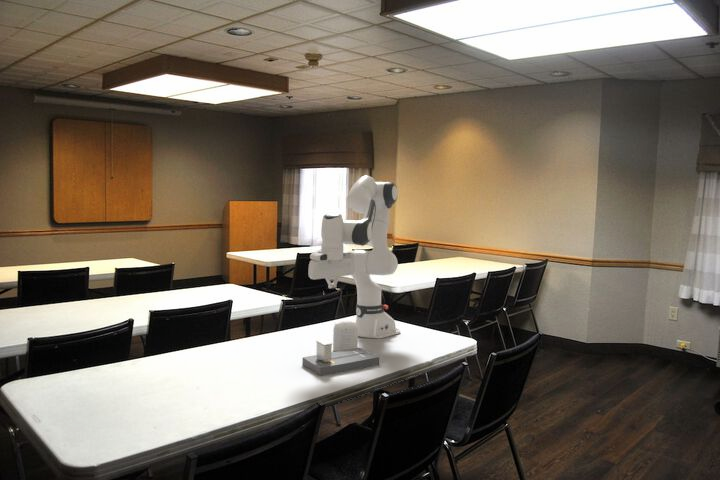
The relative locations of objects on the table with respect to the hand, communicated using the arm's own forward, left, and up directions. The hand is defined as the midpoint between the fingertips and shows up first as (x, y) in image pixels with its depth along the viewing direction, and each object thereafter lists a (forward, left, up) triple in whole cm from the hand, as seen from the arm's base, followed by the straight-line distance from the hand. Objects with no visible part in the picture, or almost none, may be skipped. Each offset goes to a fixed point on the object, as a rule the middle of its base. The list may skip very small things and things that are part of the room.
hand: (332, 287), depth 218 cm
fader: (+11, +14, -24) cm, 30 cm away
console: (+4, +14, -27) cm, 31 cm away
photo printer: (-7, -1, -28) cm, 29 cm away
